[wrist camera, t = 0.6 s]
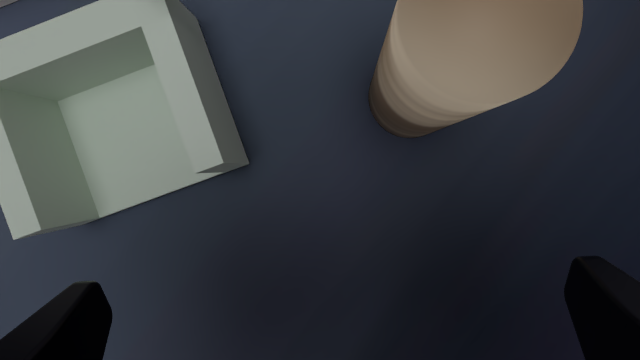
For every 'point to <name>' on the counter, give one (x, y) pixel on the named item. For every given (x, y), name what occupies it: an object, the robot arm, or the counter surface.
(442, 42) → the dowel
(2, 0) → the backstop wall
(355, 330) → the counter surface
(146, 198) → the cradle
